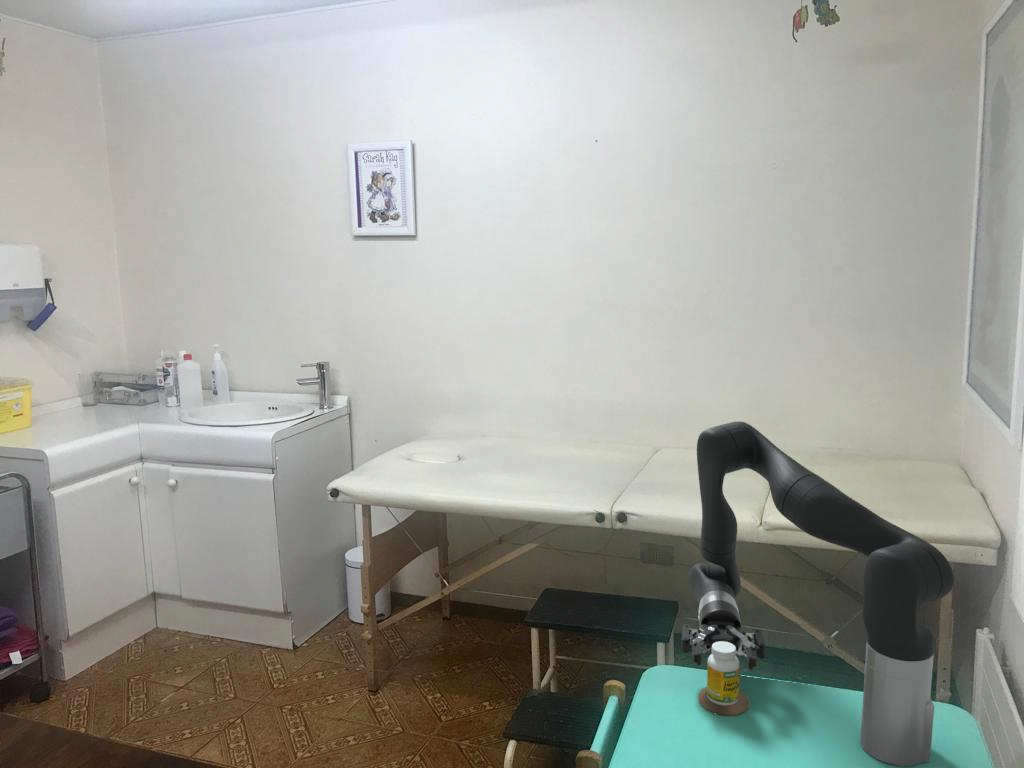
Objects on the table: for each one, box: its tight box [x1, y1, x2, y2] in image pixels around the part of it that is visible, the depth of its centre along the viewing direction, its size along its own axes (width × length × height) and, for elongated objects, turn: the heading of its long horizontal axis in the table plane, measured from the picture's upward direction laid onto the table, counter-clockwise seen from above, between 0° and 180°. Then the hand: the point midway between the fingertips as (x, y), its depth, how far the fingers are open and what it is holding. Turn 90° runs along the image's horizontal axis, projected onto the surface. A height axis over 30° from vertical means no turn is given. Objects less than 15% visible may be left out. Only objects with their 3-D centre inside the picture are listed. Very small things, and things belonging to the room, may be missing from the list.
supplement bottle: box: [706, 641, 741, 706], centre depth 139 cm, size 5×5×10 cm
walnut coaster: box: [697, 686, 750, 717], centre depth 140 cm, size 8×8×1 cm
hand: (724, 662), depth 137 cm, fingers open, 8 cm apart
